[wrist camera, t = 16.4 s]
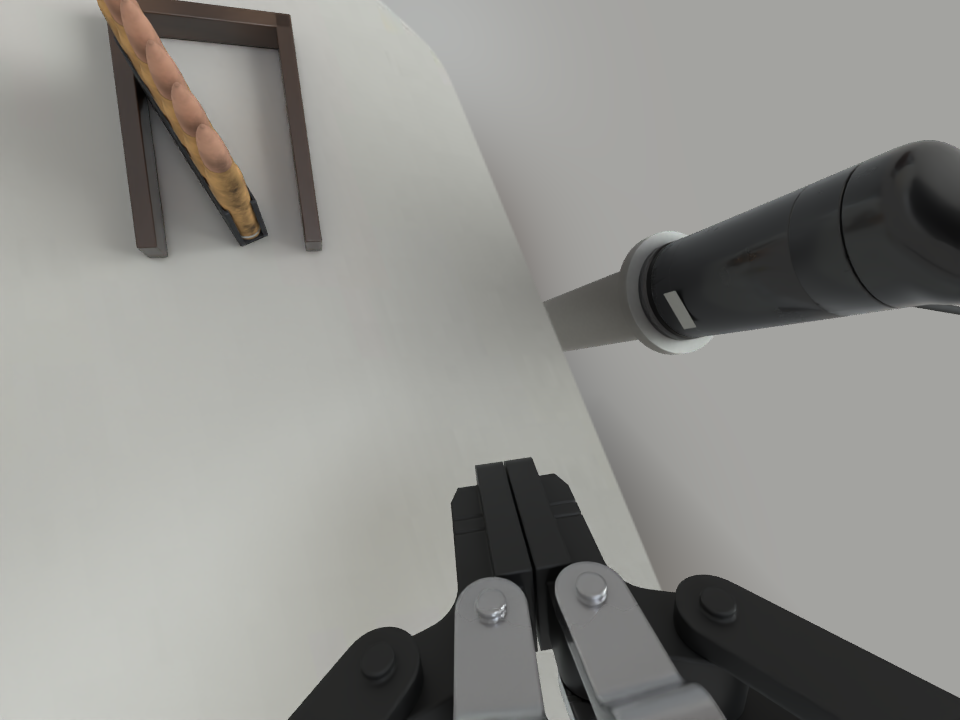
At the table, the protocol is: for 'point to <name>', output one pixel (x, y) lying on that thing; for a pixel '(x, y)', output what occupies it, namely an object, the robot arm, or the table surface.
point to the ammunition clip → (184, 118)
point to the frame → (134, 117)
